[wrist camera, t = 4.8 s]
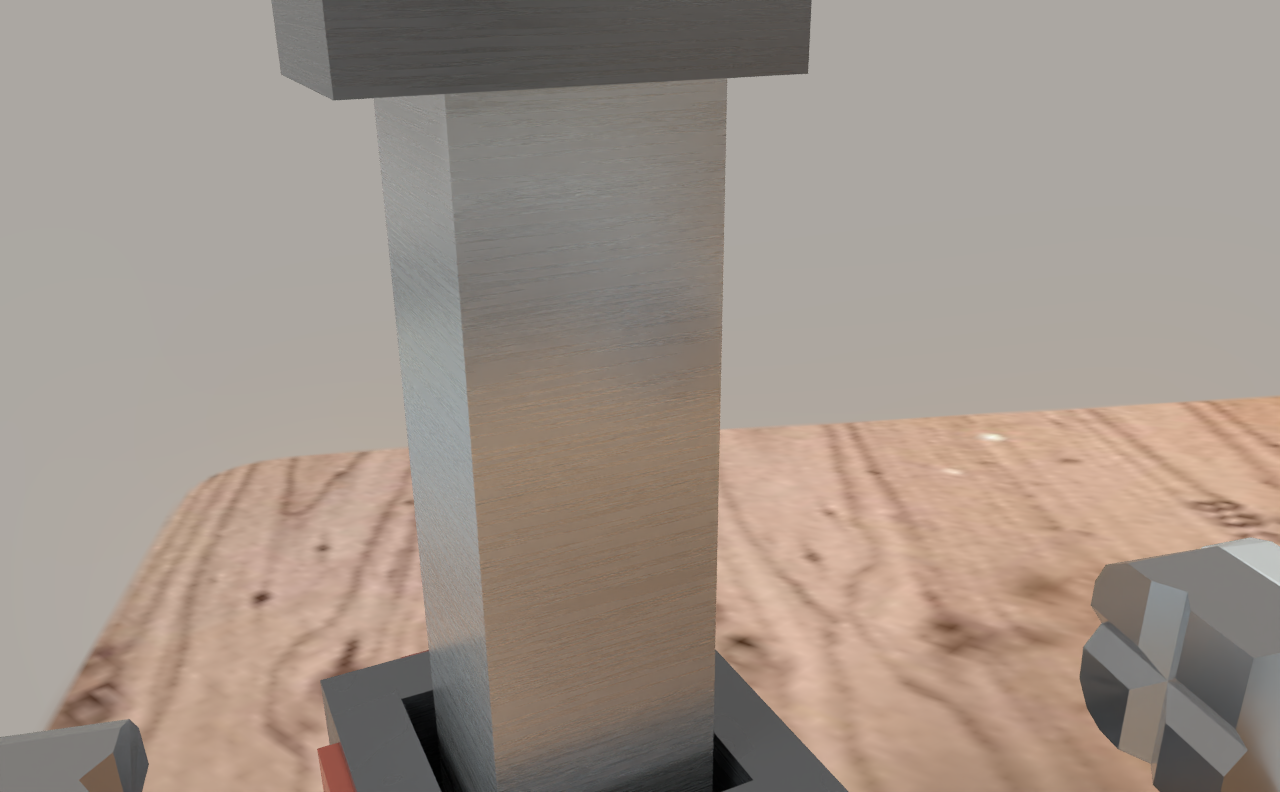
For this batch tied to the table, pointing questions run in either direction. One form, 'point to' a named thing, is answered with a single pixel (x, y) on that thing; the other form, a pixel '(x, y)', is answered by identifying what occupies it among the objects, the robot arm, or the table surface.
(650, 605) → the column
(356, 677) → the stand
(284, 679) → the table surface
